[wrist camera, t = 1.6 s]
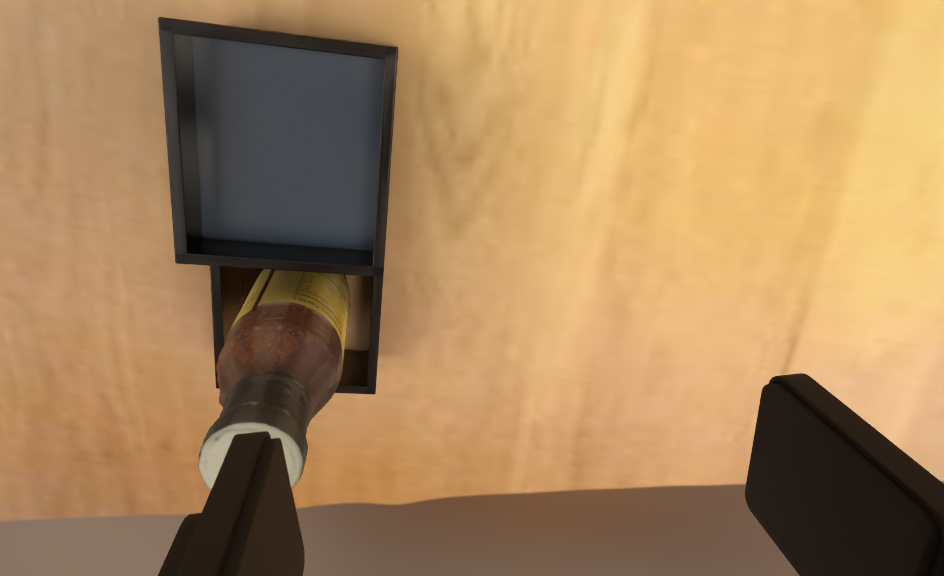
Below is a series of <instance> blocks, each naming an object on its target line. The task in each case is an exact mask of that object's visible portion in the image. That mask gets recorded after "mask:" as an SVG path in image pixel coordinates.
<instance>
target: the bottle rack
mask: <svg viewBox="0 0 944 576" xmlns="http://www.w3.org/2000/svg"><path fill="white" fill-rule="evenodd" d="M158 22H159V36H160V50H161V64H162V78H163V92H164V106H165V120H166V135H167V149H168V163H169V177H170V191H171V205H172V219H173V233H174V247H175V261H176V263H179V264H196V265H210V273H211V293H212V314H213V335H214V355H215V376H216V388H219V386H218V380H217V378H218V374H217V371H216V365H217V362H218V358H219V355H220V353H221V350H222V348H223V347H224V345H225V342H226V338H227V335H228V333H229V331H230V329H231V327H232V325H233V323H234V322H235V320H236V318H237V316H238V314H239V312H240V310H241V308H242V272H241V268H256V269H271V270H286V271H301V272H316V273H331V274H346V275H361V276H373V290H372V306H371V323H370V340H369V351H352V350H344V357H343V367H342V374H341V378H340V381H339V384H338V387H337V389H336V391H335V393H357V394H375V392H376V376H377V361H378V346H379V331H380V316H381V301H382V285H383V272H384V257H385V242H386V226H387V211H388V196H389V181H390V166H391V151H392V136H393V120H394V105H395V90H396V75H397V60H398V47H396V46H388V45H380V44H372V43H364V42H356V41H348V40H340V39H332V38H324V37H317V36H309V35H301V34H293V33H285V32H277V31H269V30H261V29H253V28H245V27H237V26H229V25H221V24H213V23H205V22H196V21H188V20H180V19H172V18H164V17H158Z"/></svg>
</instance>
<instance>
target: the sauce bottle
mask: <svg viewBox="0 0 944 576" xmlns="http://www.w3.org/2000/svg"><path fill="white" fill-rule="evenodd" d="M349 304H350V292H349V287H348V284H347V280H346V276H345V274H331V273H316V272H301V271H286V270H271V269H263V270H262V271H261V273H260V275H259V276H258V278H257V280H256V282H255V284H254V286H253V287H252V289H251V291H250V293H249V295H248V297H247V299H246V301H245V303H244V305H243V307H242V308H241V310H240V312H239V314H238V316H237V318H236V320H235V322H234V323H233V325H232V327H231V329H230V331H229V333H228V335H227V338H226V342H225V345H224V347H223V348H222V350H221V353H220V355H219V358H218V362H217V365H216V371H217V374H218V378H217V380H218V386H219V388H220V397H219V403H220V404H221V405H222V407H223V411H222V412H221V414H220V418H218V419H217V421H216V422H215V423H214V424H213V425H212V426H211V427H210V429H209V431H208V433H207V435H206V437H205V439H204V441H203V445H202V447H201V450H200V454H199V470H200V473H201V476H202V478H203V479H204V481H205V482H206V484H207V486H208V487H209V488H210V489H212V487H213V485H214V482H215V480H216V478H217V475H218V473H219V470H220V468H221V466H222V463H223V461H224V458H225V456H226V453H227V451H228V449H229V446H230V444H231V441H232V439H233V437H234V436H235V435H236V434H244V433H253V432H262V431H268V432H269V434H270V436H271V439H272V438H280V439H281V441H282V445H283V450H284V455H285V460H286V464H287V469H288V474H289V479H290V484H291V488H293V487H294V486H295V485H296V483H297V482H298V480H299V479H300V478H301V476H302V473H303V469H304V465H305V461H306V456H307V450H308V444H307V440H306V432H307V427H308V425H309V422H310V420H311V419H312V418H313V417H314V416H315V415H316V414H317V413H318V412H319V411H320V410H321V409H322V408H323V407H324V406H325V405H326V403H327V402H328V401H329V400H330V399H331V397H332V396H333V394H334V393H335V391H336V389H337V387H338V384H339V381H340V378H341V374H342V367H343V357H344V347H345V338H346V329H347V320H348V312H349Z"/></svg>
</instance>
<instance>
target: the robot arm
mask: <svg viewBox="0 0 944 576" xmlns="http://www.w3.org/2000/svg"><path fill="white" fill-rule="evenodd" d="M745 498H746V502H747V505H748V507H749V509H750V511H751V512H752V513H753V515H754V516H755V517H756V519H757V520H758V521H759V523H760V524H761V525H762V526H763V528H764V529H765V531H766V532H767V533H768V534H769V536H770V537H771V538H772V540H773V541H774V542H775V544H776V545H777V546H778V548H779V549H780V550H781V552H782V553H783V554H784V555H785V557H786V558H787V559H788V561H789V562H790V563H791V565H792V566H793V567H794V569H795V570H796V571H797V573H798V574H799V575H800V576H944V484H943V483H942V482H941V481H939V480H938V479H937V478H936V477H934V476H933V475H932V474H931V473H929V472H928V471H927V470H926V469H924V468H923V467H922V466H921V465H919V464H918V463H917V462H916V461H914V460H913V459H912V458H911V457H909V456H908V455H907V454H906V453H904V452H903V451H902V450H901V449H899V448H898V447H897V446H896V445H894V444H893V443H892V442H891V441H889V440H888V439H887V438H886V437H885V436H883V435H882V434H881V433H880V432H878V431H877V430H876V429H875V428H873V427H872V426H871V425H870V424H868V423H867V422H866V421H865V420H863V419H862V418H861V417H860V416H858V415H857V414H856V413H855V412H853V411H852V410H851V409H850V408H848V407H847V406H846V405H845V404H843V403H842V402H841V401H840V400H838V399H837V398H836V397H835V396H833V395H832V394H831V393H830V392H828V391H827V390H826V389H825V388H823V387H822V386H821V385H820V384H818V383H817V382H816V381H815V380H813V379H812V378H811V377H810V376H808V375H806V374H791V375H782V376H775V377H773V378H772V379H771V380H770V382H769V384H768V385H765V386H764V387H763V389H762V393H761V399H760V405H759V411H758V417H757V423H756V429H755V435H754V441H753V447H752V453H751V459H750V465H749V470H748V476H747V482H746V489H745ZM303 570H304V546H303V541H302V536H301V532H300V527H299V522H298V517H297V512H296V507H295V503H294V498H293V493H292V488H291V484H290V479H289V474H288V469H287V464H286V460H285V455H284V450H283V445H282V441H281V439H280V438H272V439H271V436H270V434H269V432H268V431H262V432H253V433H244V434H236V435H235V436H234V437H233V439H232V441H231V444H230V446H229V449H228V451H227V453H226V456H225V458H224V461H223V463H222V466H221V468H220V470H219V473H218V475H217V478H216V480H215V482H214V485H213V487H212V490H211V492H210V494H209V497H208V499H207V502H206V504H205V506H204V509H203V511H202V513H198V514H190V515H188V516H187V517H186V518H185V519H184V521H183V522H182V524H181V525H180V528H179V530H178V532H177V534H176V537H175V539H174V541H173V543H172V545H171V548H170V550H169V552H168V554H167V557H166V559H165V561H164V564H163V566H162V568H161V570H160V572H159V574H158V576H303Z"/></svg>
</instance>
